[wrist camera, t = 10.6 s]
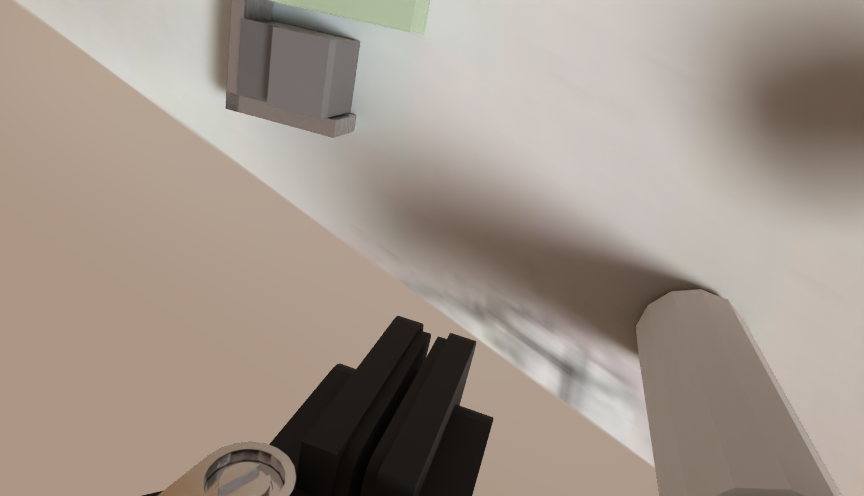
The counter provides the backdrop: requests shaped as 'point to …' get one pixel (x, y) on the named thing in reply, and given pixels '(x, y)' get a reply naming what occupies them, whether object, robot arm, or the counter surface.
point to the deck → (373, 11)
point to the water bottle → (719, 406)
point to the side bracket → (256, 5)
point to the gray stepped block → (296, 68)
